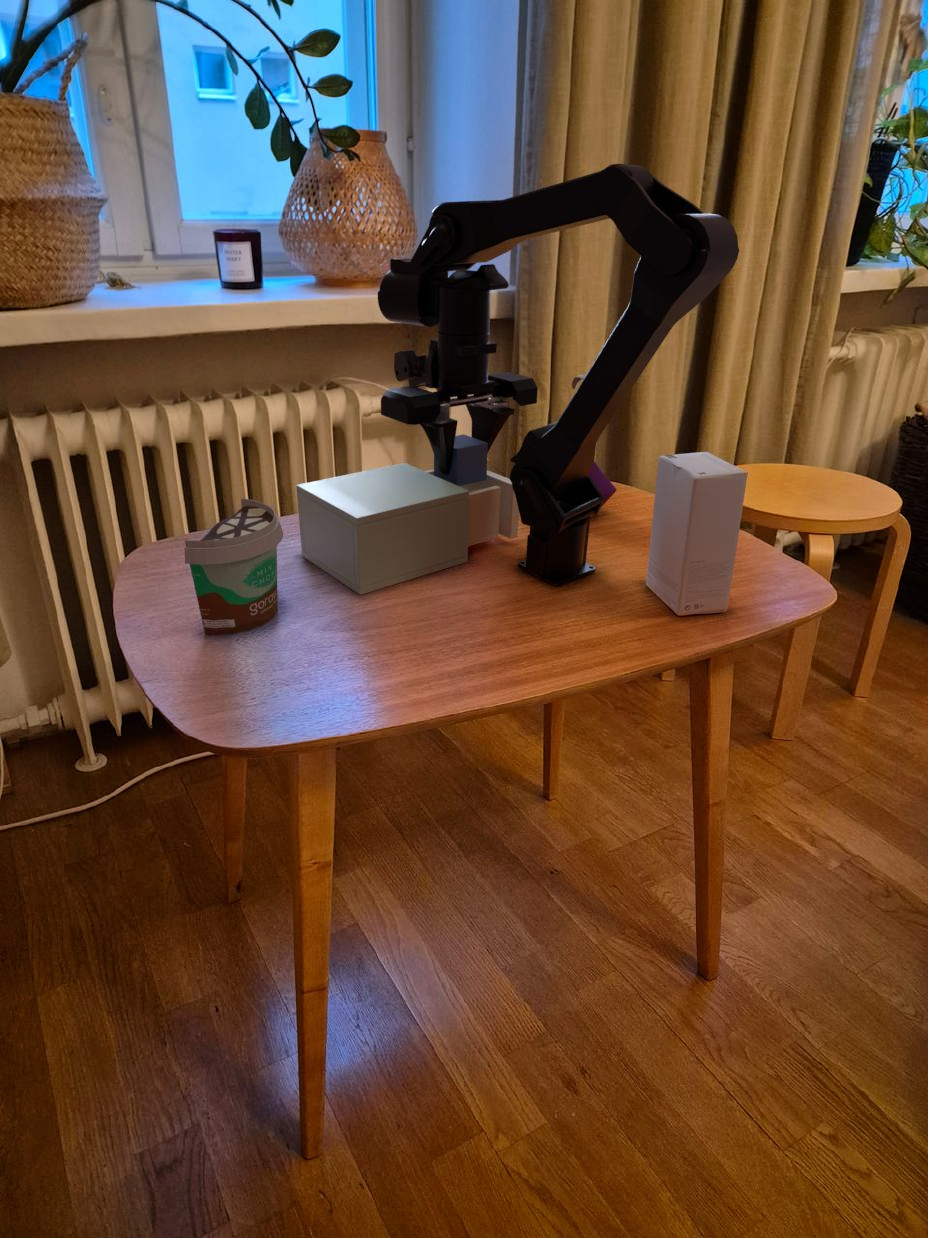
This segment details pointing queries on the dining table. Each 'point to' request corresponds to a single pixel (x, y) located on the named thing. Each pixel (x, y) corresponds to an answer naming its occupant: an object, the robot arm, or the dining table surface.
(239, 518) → the food container
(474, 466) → the block
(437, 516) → the grey storage box
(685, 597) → the cosmetic box
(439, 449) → the robot arm
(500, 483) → the tray
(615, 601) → the dining table surface
